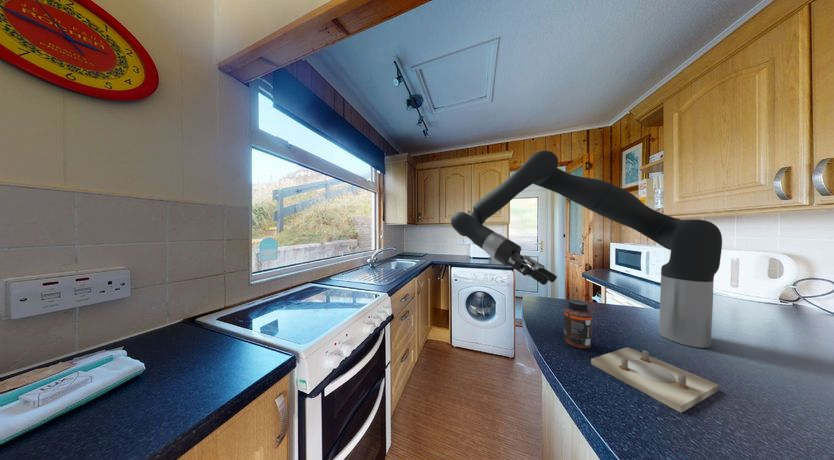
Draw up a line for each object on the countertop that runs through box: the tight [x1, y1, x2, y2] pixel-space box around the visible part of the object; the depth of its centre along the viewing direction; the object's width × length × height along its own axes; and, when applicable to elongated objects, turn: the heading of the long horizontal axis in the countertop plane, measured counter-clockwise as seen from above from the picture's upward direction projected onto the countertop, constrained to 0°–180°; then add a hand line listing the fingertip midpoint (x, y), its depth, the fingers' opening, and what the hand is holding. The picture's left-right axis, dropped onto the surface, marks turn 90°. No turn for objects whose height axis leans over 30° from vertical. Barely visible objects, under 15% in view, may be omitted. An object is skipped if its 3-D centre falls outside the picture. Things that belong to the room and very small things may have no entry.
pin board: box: [590, 346, 719, 414], centre depth 47 cm, size 14×14×3 cm
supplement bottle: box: [563, 299, 593, 350], centre depth 59 cm, size 6×6×11 cm
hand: (551, 280), depth 60 cm, fingers open, 8 cm apart
